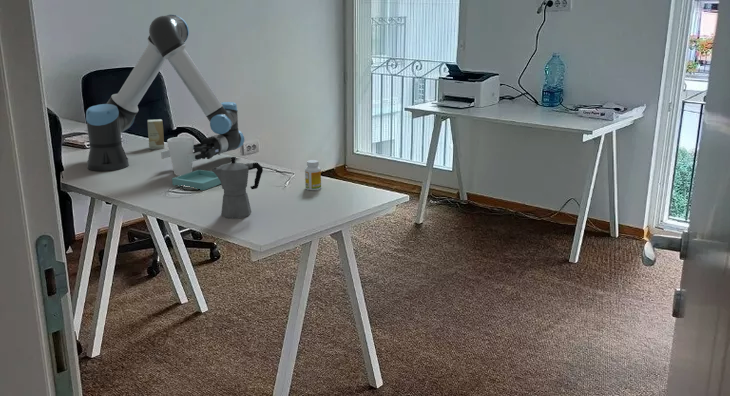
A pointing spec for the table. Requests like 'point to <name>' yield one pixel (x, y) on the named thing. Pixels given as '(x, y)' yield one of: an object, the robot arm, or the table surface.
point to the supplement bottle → (313, 175)
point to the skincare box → (155, 134)
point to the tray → (197, 179)
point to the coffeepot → (236, 187)
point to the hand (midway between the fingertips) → (174, 157)
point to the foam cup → (181, 154)
